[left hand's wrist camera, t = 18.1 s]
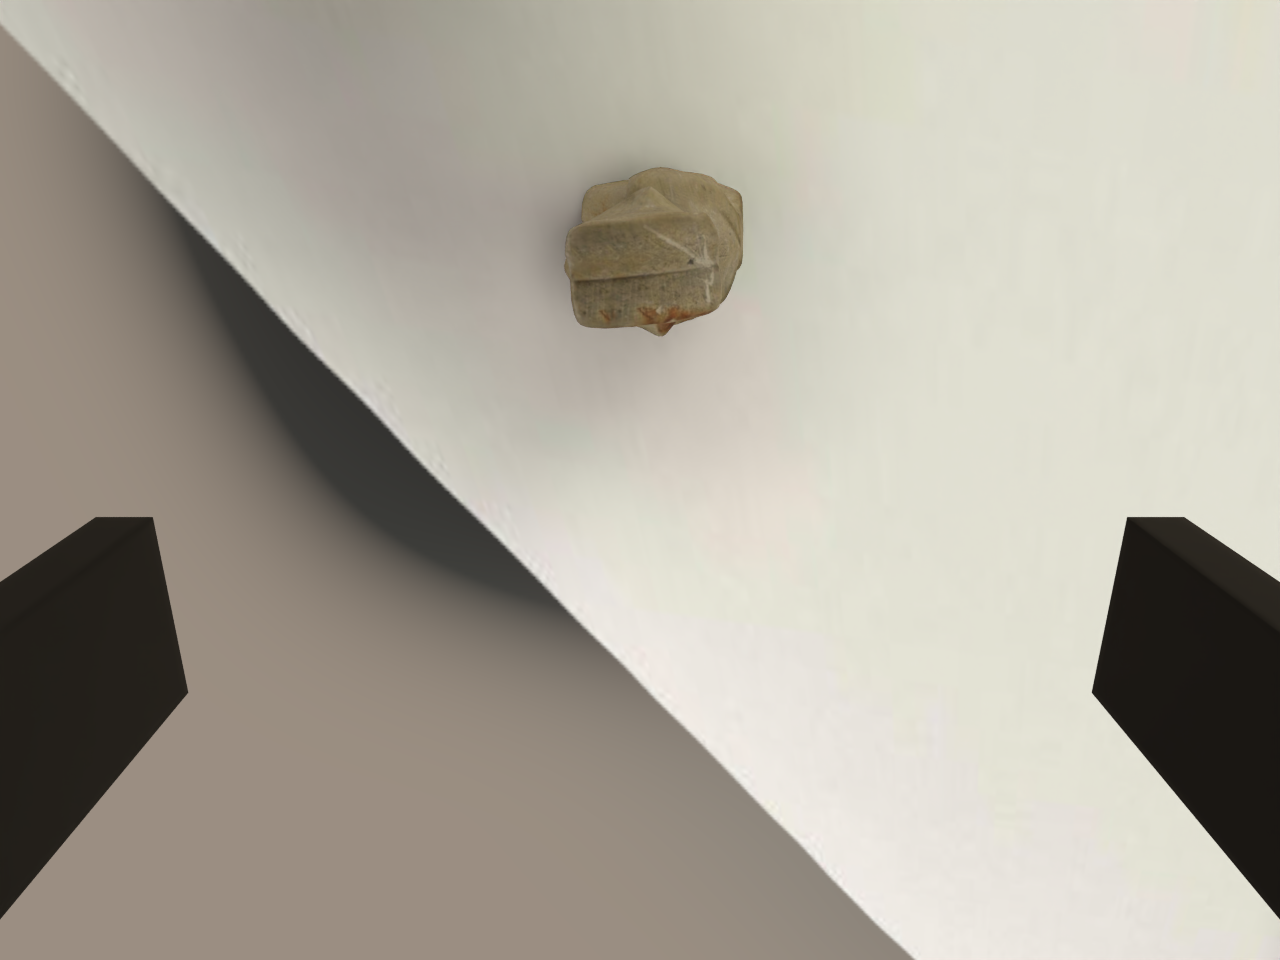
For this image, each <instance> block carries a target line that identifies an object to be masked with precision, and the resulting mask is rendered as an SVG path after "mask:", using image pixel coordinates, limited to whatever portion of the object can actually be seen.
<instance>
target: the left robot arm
mask: <svg viewBox="0 0 1280 960" xmlns="http://www.w3.org/2000/svg"><path fill="white" fill-rule="evenodd" d="M187 693H188V689H187V684H186V680H185V674H184V669H183V664H182V660H181V655H180V650H179V645H178V640H177V635H176V630H175V625H174V620H173V615H172V610H171V605H170V600H169V595H168V591H167V585H166V580H165V575H164V570H163V566H162V561H161V556H160V551H159V546H158V541H157V536H156V531H155V526H154V521H153V517H95V518H94V519H93V520H91V521H90V522H88V523H87V524H85V525H84V526H82V527H81V528H79V529H78V530H76V531H75V532H73V533H72V534H70V535H69V536H67V537H66V538H64V539H63V540H62V541H60V542H59V543H57V544H56V545H54V546H53V547H51V548H50V549H48V550H47V551H45V552H44V553H42V554H41V555H39V556H38V557H37V558H35V559H34V560H32V561H31V562H29V563H28V564H26V565H25V566H23V567H22V568H20V569H19V570H17V571H16V572H14V573H13V574H11V575H10V576H9V577H7V578H6V579H4V580H3V581H1V582H0V919H1V918H2V916H3V915H4V914H5V913H6V912H7V910H8V909H9V908H10V907H11V906H12V904H13V903H14V902H15V901H16V899H17V898H18V897H19V896H20V895H21V893H22V892H23V891H24V890H25V889H26V888H27V886H28V885H29V884H30V883H31V882H32V880H33V879H34V878H35V877H36V875H37V874H38V873H39V872H40V871H41V869H42V868H43V867H44V866H45V865H46V863H47V862H48V861H49V860H50V859H51V857H52V856H53V855H54V854H55V853H56V851H57V850H58V849H59V848H60V847H61V845H62V844H63V843H64V842H65V841H66V839H67V838H68V837H69V836H70V834H71V833H72V832H73V831H74V830H75V828H76V827H77V826H78V825H79V824H80V822H81V821H82V820H83V819H84V818H85V816H86V815H87V814H88V813H89V812H90V810H91V809H92V808H93V807H94V805H95V804H96V803H97V802H98V801H99V799H100V798H101V797H102V796H103V795H104V793H105V792H106V791H107V790H108V789H109V787H110V786H111V785H112V784H113V783H114V781H115V780H116V779H117V778H118V777H119V775H120V774H121V773H122V772H123V771H124V769H125V768H126V767H127V766H128V765H129V763H130V762H131V761H132V760H133V759H134V757H135V756H136V755H137V754H138V753H139V751H140V750H141V749H142V748H143V746H144V745H145V744H146V743H147V742H148V740H149V739H150V738H151V737H152V735H153V734H154V733H155V732H156V731H157V730H158V728H159V727H160V726H161V725H162V724H163V722H164V721H165V720H166V719H167V718H168V716H169V715H170V714H171V713H172V712H173V710H174V709H175V708H176V707H177V705H178V704H179V703H180V702H181V701H182V699H183V698H184V697H185V696H186V695H187ZM1092 693H1093V695H1094V696H1095V697H1096V698H1097V699H1098V701H1099V702H1100V703H1101V704H1102V705H1103V707H1104V708H1105V709H1106V710H1107V712H1108V713H1109V714H1110V715H1111V716H1112V718H1113V719H1114V720H1115V721H1116V722H1117V724H1118V725H1119V726H1120V727H1121V728H1122V730H1123V731H1124V732H1125V733H1126V734H1127V736H1128V737H1129V738H1130V739H1131V740H1132V742H1133V743H1134V744H1135V745H1136V746H1137V748H1138V749H1139V750H1140V751H1141V753H1142V754H1143V755H1144V756H1145V757H1146V759H1147V760H1148V761H1149V762H1150V763H1151V765H1152V766H1153V767H1154V768H1155V769H1156V771H1157V772H1158V773H1159V774H1160V775H1161V777H1162V778H1163V779H1164V780H1165V781H1166V783H1167V784H1168V785H1169V786H1170V787H1171V789H1172V790H1173V791H1174V792H1175V793H1176V795H1177V796H1178V797H1179V798H1180V800H1181V801H1182V802H1183V803H1184V804H1185V806H1186V807H1187V808H1188V809H1189V810H1190V812H1191V813H1192V814H1193V815H1194V816H1195V818H1196V819H1197V820H1198V821H1199V822H1200V824H1201V825H1202V826H1203V827H1204V828H1205V830H1206V831H1207V832H1208V833H1209V834H1210V836H1211V837H1212V838H1213V839H1214V841H1215V842H1216V843H1217V844H1218V845H1219V847H1220V848H1221V849H1222V850H1223V851H1224V853H1225V854H1226V855H1227V856H1228V857H1229V859H1230V860H1231V861H1232V862H1233V863H1234V865H1235V866H1236V867H1237V868H1238V869H1239V871H1240V872H1241V873H1242V874H1243V875H1244V877H1245V878H1246V879H1247V880H1248V882H1249V883H1250V884H1251V885H1252V886H1253V888H1254V889H1255V890H1256V891H1257V892H1258V894H1259V895H1260V896H1261V897H1262V898H1263V900H1264V901H1265V902H1266V903H1267V904H1268V906H1269V907H1270V908H1271V909H1272V910H1273V912H1274V913H1275V914H1276V915H1277V916H1278V918H1279V919H1280V582H1279V581H1277V580H1276V579H1274V578H1273V577H1272V576H1270V575H1269V574H1267V573H1266V572H1264V571H1263V570H1261V569H1260V568H1258V567H1257V566H1255V565H1254V564H1252V563H1251V562H1249V561H1248V560H1246V559H1245V558H1244V557H1242V556H1241V555H1239V554H1238V553H1236V552H1235V551H1233V550H1232V549H1230V548H1229V547H1227V546H1226V545H1224V544H1223V543H1221V542H1220V541H1218V540H1217V539H1216V538H1214V537H1213V536H1211V535H1210V534H1208V533H1207V532H1205V531H1204V530H1202V529H1201V528H1199V527H1198V526H1196V525H1195V524H1193V523H1192V522H1190V521H1189V520H1188V519H1186V518H1185V517H1127V521H1126V526H1125V531H1124V536H1123V541H1122V546H1121V551H1120V556H1119V561H1118V566H1117V570H1116V575H1115V580H1114V585H1113V590H1112V595H1111V600H1110V605H1109V610H1108V615H1107V620H1106V625H1105V630H1104V635H1103V640H1102V645H1101V650H1100V655H1099V659H1098V664H1097V669H1096V674H1095V679H1094V684H1093V689H1092Z"/></svg>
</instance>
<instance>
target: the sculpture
mask: <svg viewBox="0 0 1280 960" xmlns="http://www.w3.org/2000/svg"><path fill="white" fill-rule="evenodd" d="M581 217H582V221H583V223H582V224H580V225H577V226H575V227H573V228H572V229H571V230H570V231H569V232H568V235H567V238H566V245H565V256H566V261H565V264H564V268H565V272H566V274H567V276H568V277H569V279H570V283H571V300H572V305H573V310H574V315H575V317H576V319H577V321H578V322H579V323H580V324H581V325H583V326H586V327H591V328H619V327H635V326H637V327H640V328H643V329H645V330H647V331H649V332H651V333H653V334H655V335H657V336H664V335H665V334H666V333H667V332H668V331H669V330H670V328H671V327H672V326H673V325H676V324H679V323H682V322H684V321H687V320H691V319H694V318H696V317H699V316H702V315H706V314H709V313H711V312H713V311H714V310H716V309H717V308H718V307H719V305H720V304H721V303H722V302H723V301H724V300H725V298H726V297H727V295H728V293H729V291H730V289H731V286H732V283H733V281H734V278H735V274H736V271H737V270H738V269H739V268H740V266H741V264H742V257H743V206H742V197H741V195H740V193H739V192H738V191H736V190H734V189H732V188H730V187H727V186H724V185H721V184H719V183H717V182H716V181H715V180H714V179H713V178H712V177H709V176H706V175H703V174H698V173H691V172H683V171H679V170H674V169H670V168H662V167H659V168H652V169H649V170H646V171H643V172H640V173H638V174H636V175H634V176H632V177H631V178H629V180H623V181H618V182H612V183H606V184H601V185H595V186H593V187H591V188H590V189H589V190H588V191H587V192H586V194H585V196H584V199H583V203H582V216H581Z"/></svg>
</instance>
